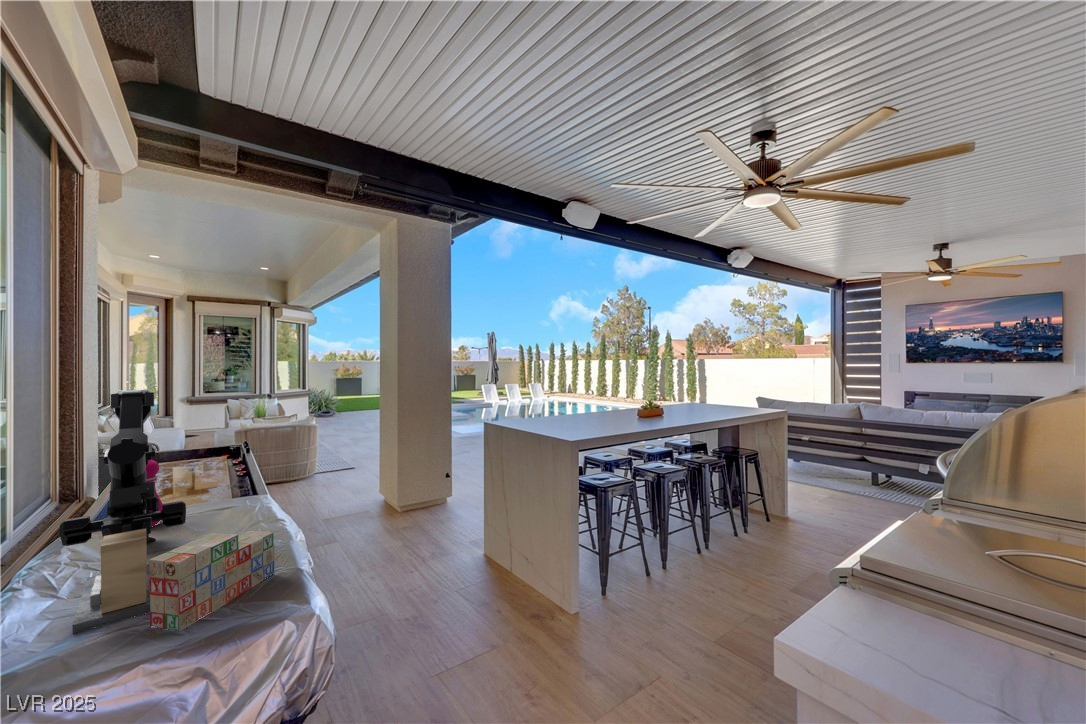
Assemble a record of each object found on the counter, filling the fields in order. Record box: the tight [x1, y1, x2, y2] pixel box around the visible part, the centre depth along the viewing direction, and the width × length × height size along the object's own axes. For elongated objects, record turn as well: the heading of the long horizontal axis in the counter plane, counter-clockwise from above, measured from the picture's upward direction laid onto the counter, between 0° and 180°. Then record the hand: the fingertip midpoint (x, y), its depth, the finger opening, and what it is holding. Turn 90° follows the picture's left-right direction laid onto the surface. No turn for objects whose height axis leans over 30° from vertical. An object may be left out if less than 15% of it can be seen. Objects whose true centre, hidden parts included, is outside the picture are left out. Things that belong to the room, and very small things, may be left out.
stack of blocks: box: [148, 530, 275, 632], centre depth 89 cm, size 21×6×12 cm, turn 169°
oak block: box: [100, 528, 148, 614], centre depth 85 cm, size 6×6×12 cm
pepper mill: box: [145, 459, 163, 528], centre depth 128 cm, size 7×7×20 cm
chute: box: [71, 563, 150, 635], centre depth 90 cm, size 22×13×4 cm, turn 40°
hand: (126, 561), depth 89 cm, fingers closed
